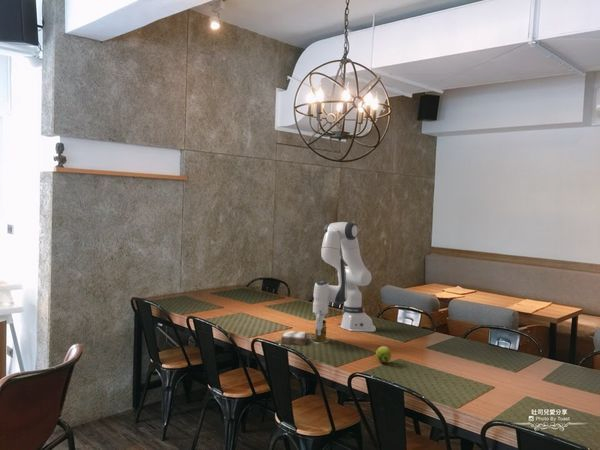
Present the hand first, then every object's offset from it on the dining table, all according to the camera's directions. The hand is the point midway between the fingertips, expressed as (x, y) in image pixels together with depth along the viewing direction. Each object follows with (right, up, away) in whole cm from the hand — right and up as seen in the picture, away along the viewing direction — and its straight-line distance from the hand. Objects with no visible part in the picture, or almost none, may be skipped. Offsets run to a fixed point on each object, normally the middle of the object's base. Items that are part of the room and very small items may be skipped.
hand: (319, 333), depth 286 cm
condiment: (0, -5, 0) cm, 5 cm away
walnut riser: (-14, -4, -2) cm, 15 cm away
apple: (+31, -8, -33) cm, 46 cm away
